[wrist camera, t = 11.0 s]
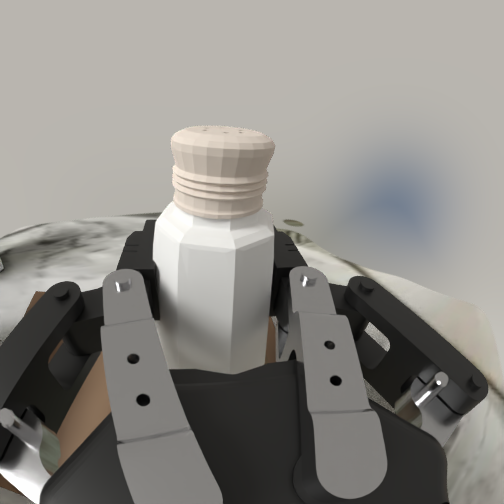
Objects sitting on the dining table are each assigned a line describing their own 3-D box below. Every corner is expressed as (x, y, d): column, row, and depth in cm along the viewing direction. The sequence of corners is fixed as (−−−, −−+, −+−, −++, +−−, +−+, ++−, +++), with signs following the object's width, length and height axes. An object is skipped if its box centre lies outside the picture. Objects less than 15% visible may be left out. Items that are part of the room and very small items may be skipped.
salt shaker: (136, 384, 11) (80, 137, 5) (194, 320, 15) (198, 118, 10) (236, 440, 10) (295, 167, 4) (280, 357, 14) (337, 142, 8)
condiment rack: (13, 490, 6) (-17, 477, 4) (48, 319, 19) (35, 291, 18) (314, 507, 10) (335, 503, 8) (256, 321, 24) (262, 292, 22)
